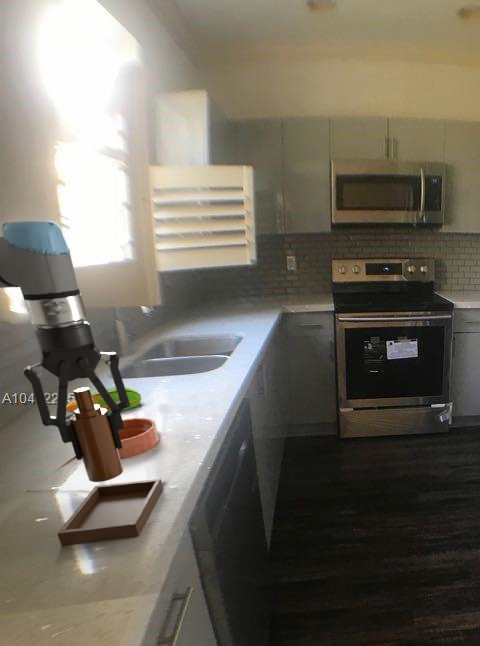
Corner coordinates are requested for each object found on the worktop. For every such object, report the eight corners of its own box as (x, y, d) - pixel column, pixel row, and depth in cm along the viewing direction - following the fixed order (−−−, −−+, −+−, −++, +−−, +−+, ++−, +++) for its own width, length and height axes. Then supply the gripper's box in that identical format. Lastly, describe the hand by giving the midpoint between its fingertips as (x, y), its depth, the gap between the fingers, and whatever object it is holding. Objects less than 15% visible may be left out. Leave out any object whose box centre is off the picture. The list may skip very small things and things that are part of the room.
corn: (137, 387, 134) (56, 399, 127) (142, 411, 136) (64, 424, 129) (138, 381, 141) (62, 392, 133) (144, 405, 143) (69, 417, 136)
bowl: (80, 461, 108) (74, 442, 106) (117, 435, 121) (112, 418, 120) (139, 461, 107) (134, 442, 105) (169, 435, 120) (165, 417, 119)
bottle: (81, 482, 81) (53, 395, 75) (101, 466, 87) (76, 384, 81) (111, 482, 81) (85, 395, 75) (129, 466, 86) (107, 383, 80)
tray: (98, 496, 93) (95, 485, 92) (163, 489, 95) (160, 478, 94) (61, 546, 79) (57, 533, 78) (138, 536, 81) (135, 524, 80)
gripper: (-14, 337, 66) (37, 477, 74) (129, 318, 76) (159, 443, 84) (-11, 329, 72) (36, 460, 80) (121, 312, 82) (151, 430, 90)
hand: (99, 451), depth 82 cm, fingers closed on bottle, 6 cm apart
